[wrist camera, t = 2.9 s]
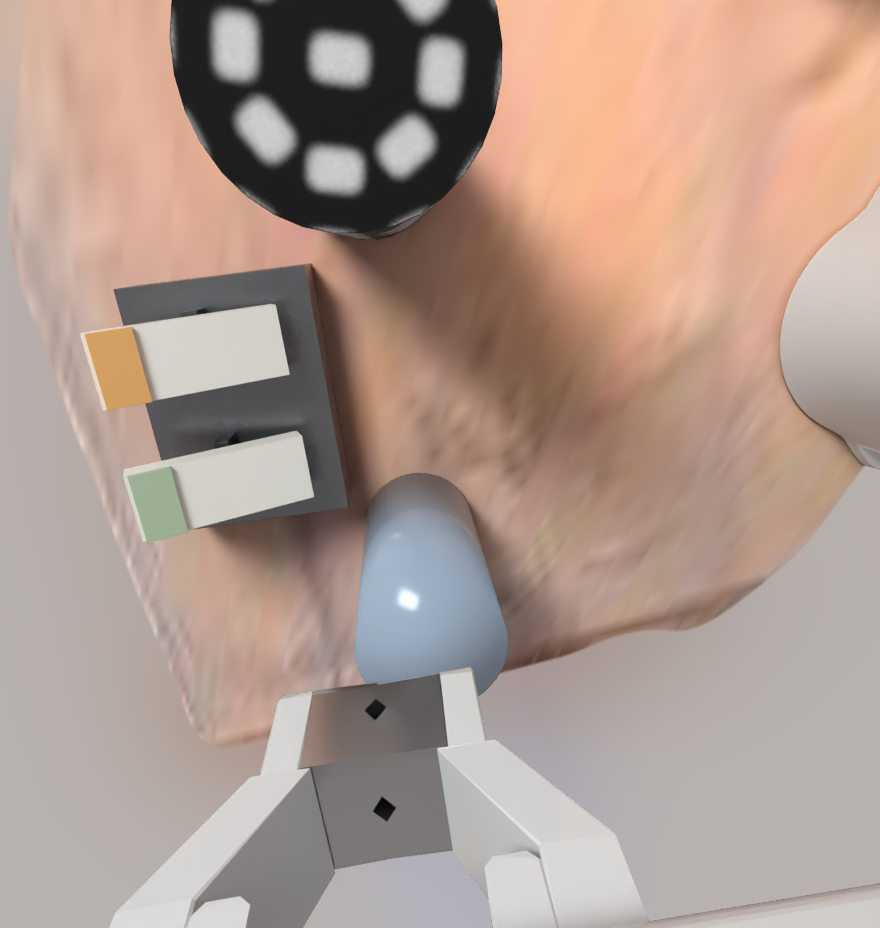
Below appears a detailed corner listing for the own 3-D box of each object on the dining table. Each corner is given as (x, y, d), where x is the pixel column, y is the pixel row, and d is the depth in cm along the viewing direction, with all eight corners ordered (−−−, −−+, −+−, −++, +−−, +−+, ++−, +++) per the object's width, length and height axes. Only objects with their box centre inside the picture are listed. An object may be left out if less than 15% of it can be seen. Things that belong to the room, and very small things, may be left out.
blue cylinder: (465, 466, 41) (501, 569, 28) (476, 562, 44) (514, 699, 30) (357, 481, 41) (342, 593, 28) (374, 576, 43) (367, 722, 30)
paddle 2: (296, 430, 36) (303, 437, 34) (308, 489, 37) (315, 498, 36) (123, 469, 33) (123, 478, 31) (143, 532, 34) (143, 544, 32)
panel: (310, 263, 37) (300, 265, 32) (351, 489, 41) (346, 518, 37) (135, 286, 36) (100, 291, 32) (195, 511, 41) (172, 542, 37)
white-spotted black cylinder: (449, 83, 34) (523, -118, 15) (434, 246, 37) (482, 248, 18) (291, 62, 33) (162, -176, 14) (287, 231, 36) (175, 216, 17)
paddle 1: (270, 303, 34) (276, 305, 32) (284, 371, 35) (290, 375, 33) (82, 332, 30) (79, 335, 29) (104, 405, 32) (102, 411, 30)
